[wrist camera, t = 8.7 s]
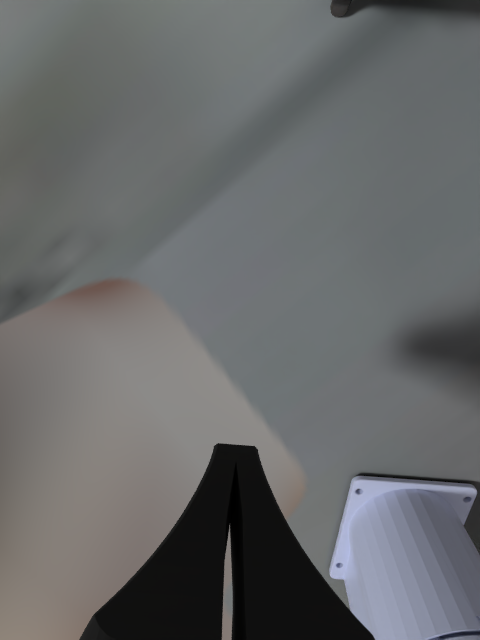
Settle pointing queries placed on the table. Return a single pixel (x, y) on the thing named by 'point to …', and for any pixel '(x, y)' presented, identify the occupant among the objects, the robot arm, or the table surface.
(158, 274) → the table surface
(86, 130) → the table surface
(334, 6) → the alarm clock
